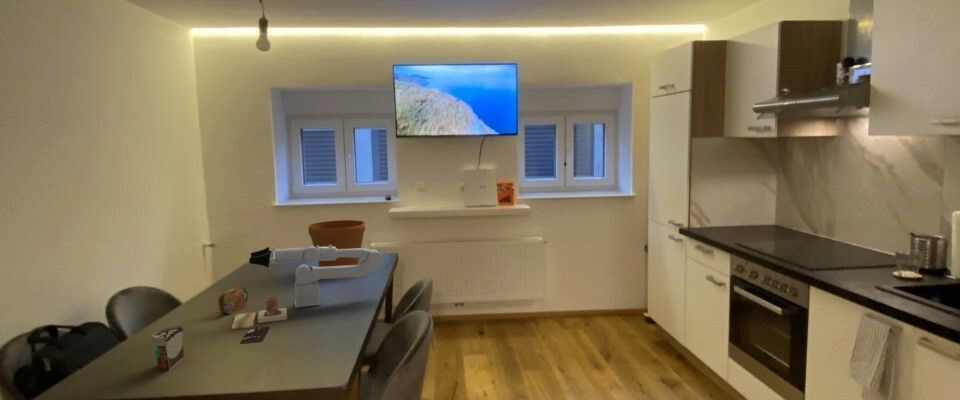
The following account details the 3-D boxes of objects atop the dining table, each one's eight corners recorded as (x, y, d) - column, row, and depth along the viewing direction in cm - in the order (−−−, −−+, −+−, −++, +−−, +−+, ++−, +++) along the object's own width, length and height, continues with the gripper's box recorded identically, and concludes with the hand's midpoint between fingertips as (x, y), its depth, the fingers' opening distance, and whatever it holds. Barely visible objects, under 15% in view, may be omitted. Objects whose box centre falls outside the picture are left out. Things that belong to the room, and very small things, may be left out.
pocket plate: (287, 311, 210) (286, 307, 210) (286, 319, 201) (286, 315, 200) (259, 314, 207) (259, 311, 206) (258, 323, 197) (257, 319, 197)
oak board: (255, 313, 208) (255, 312, 208) (252, 327, 193) (252, 325, 193) (235, 316, 206) (235, 314, 206) (231, 329, 191) (231, 328, 191)
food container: (166, 356, 168) (163, 325, 167) (186, 355, 169) (183, 324, 167) (145, 373, 156) (141, 340, 155) (167, 372, 156) (163, 339, 155)
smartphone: (239, 343, 177) (249, 327, 192) (239, 345, 177) (249, 329, 192) (262, 341, 178) (270, 325, 193) (262, 343, 179) (270, 327, 193)
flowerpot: (378, 268, 278) (375, 223, 275) (329, 279, 258) (326, 230, 255) (347, 260, 297) (345, 218, 294) (300, 270, 277) (297, 225, 274)
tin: (225, 316, 206) (223, 295, 205) (217, 316, 207) (215, 294, 206) (249, 304, 221) (247, 284, 220) (242, 304, 221) (240, 284, 220)
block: (278, 314, 206) (277, 297, 205) (278, 318, 202) (277, 300, 202) (267, 316, 205) (266, 298, 204) (267, 319, 201) (265, 301, 200)
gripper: (286, 241, 221) (250, 243, 216) (286, 250, 207) (248, 252, 203) (287, 258, 222) (251, 260, 217) (287, 267, 208) (249, 270, 204)
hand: (250, 258), depth 210 cm, fingers open, 7 cm apart
